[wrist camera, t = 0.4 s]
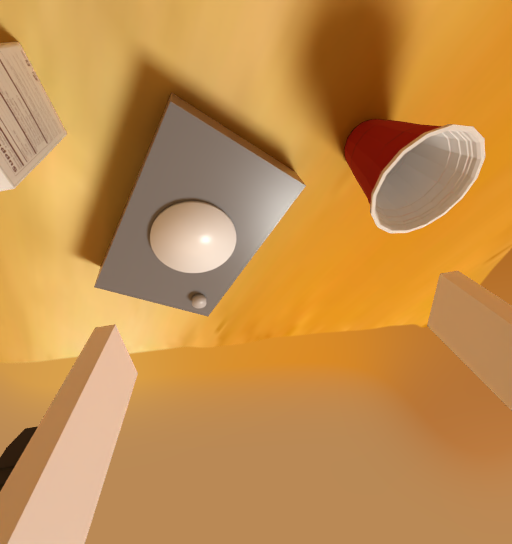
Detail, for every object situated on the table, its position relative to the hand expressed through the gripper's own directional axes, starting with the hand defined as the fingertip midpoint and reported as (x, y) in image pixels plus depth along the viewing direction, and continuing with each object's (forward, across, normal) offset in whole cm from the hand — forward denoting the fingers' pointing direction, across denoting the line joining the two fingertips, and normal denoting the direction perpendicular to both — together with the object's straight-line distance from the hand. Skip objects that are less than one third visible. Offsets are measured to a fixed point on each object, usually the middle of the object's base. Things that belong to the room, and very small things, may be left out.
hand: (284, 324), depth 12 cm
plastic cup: (+27, +16, +3) cm, 32 cm away
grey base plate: (+27, -7, -4) cm, 28 cm away
